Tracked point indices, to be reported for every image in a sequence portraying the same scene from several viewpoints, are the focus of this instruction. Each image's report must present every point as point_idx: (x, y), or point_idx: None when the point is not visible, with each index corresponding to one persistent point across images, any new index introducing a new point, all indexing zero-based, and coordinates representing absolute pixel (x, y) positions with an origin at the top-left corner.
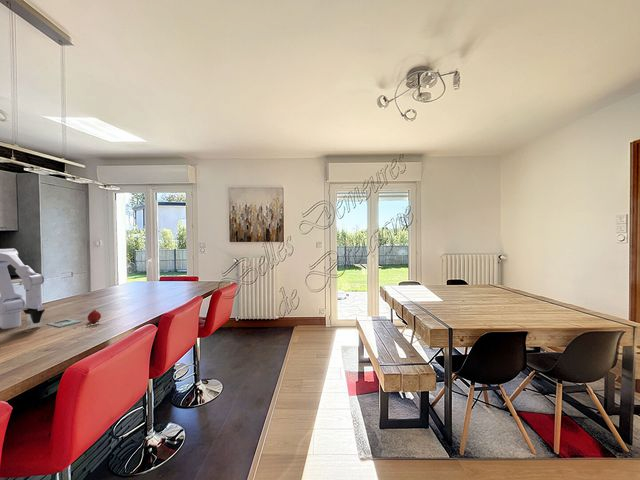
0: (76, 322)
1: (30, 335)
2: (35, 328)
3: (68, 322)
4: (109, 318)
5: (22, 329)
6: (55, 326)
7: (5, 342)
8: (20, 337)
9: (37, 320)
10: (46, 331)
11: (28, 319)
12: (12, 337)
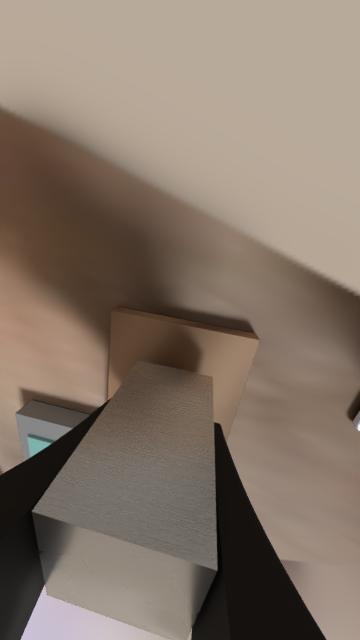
0: None
1: (52, 287)
2: None
3: None
4: None
5: (231, 349)
6: (68, 421)
7: (15, 114)
8: (62, 238)
9: None
10: (58, 364)
11: (157, 430)
12: (123, 220)
